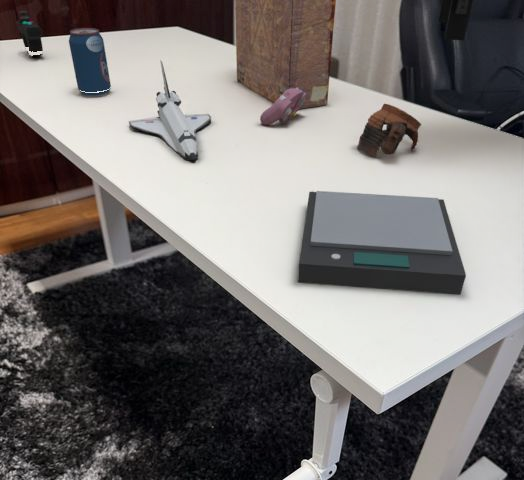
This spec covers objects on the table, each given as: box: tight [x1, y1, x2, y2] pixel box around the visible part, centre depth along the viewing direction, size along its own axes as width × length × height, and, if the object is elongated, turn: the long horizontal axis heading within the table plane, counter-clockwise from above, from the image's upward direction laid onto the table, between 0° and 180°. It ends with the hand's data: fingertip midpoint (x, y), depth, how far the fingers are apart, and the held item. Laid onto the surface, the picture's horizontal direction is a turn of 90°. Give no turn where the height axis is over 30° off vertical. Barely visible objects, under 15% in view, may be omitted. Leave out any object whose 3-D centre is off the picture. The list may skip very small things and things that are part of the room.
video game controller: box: [259, 88, 307, 126], centre depth 103 cm, size 10×5×7 cm, turn 150°
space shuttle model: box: [128, 59, 212, 161], centre depth 94 cm, size 16×25×10 cm, turn 18°
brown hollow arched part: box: [357, 103, 422, 158], centre depth 90 cm, size 12×10×8 cm
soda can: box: [68, 27, 112, 98], centre depth 114 cm, size 7×7×12 cm
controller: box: [16, 10, 44, 57], centre depth 140 cm, size 4×12×10 cm, turn 31°
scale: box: [297, 190, 467, 295], centre depth 67 cm, size 18×19×3 cm
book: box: [234, 0, 337, 110], centre depth 109 cm, size 25×9×30 cm, turn 27°
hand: (449, 30), depth 83 cm, fingers open, 13 cm apart
